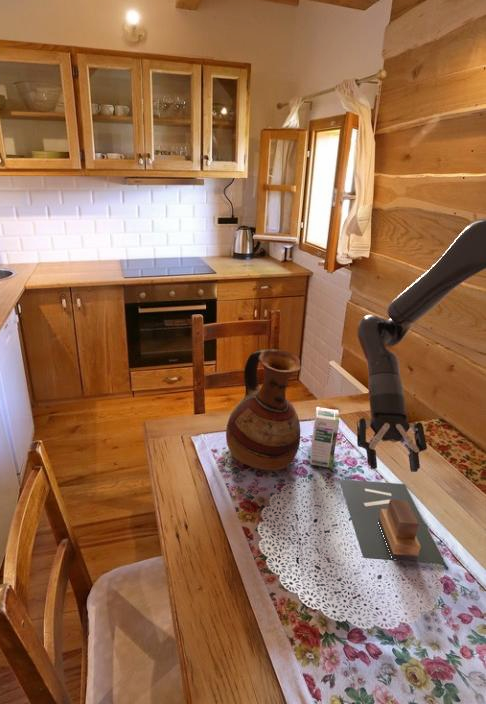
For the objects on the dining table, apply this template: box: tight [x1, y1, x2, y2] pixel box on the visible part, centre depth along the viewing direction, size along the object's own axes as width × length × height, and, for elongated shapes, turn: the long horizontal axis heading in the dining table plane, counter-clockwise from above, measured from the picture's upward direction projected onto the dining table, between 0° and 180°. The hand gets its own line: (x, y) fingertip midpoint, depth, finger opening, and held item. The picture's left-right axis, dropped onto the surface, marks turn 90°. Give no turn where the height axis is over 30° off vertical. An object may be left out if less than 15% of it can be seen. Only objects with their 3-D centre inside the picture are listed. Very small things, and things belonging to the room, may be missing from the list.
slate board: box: [338, 478, 446, 565], centre depth 90 cm, size 16×22×1 cm
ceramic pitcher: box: [225, 348, 302, 471], centre depth 105 cm, size 20×20×30 cm
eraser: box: [378, 500, 421, 563], centre depth 83 cm, size 5×9×8 cm, turn 177°
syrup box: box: [309, 406, 340, 469], centre depth 106 cm, size 6×6×14 cm
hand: (394, 470), depth 87 cm, fingers open, 8 cm apart
